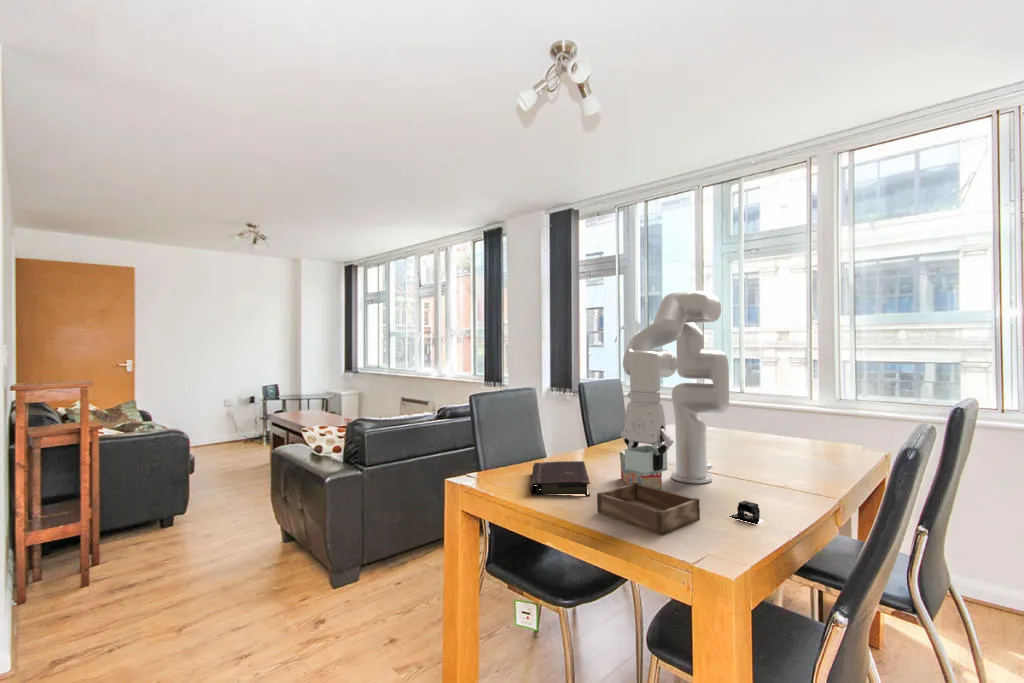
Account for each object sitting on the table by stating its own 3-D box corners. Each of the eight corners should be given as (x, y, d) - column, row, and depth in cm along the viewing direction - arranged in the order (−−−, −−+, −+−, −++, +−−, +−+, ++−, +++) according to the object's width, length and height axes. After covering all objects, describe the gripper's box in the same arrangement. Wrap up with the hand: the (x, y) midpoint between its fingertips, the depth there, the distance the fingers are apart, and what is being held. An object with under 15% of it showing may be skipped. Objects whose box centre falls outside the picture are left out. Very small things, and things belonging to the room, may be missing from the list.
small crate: (646, 465, 129) (646, 445, 130) (667, 469, 124) (666, 448, 124) (625, 470, 124) (624, 449, 124) (645, 475, 119) (645, 453, 119)
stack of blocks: (620, 478, 160) (619, 441, 160) (638, 478, 161) (637, 441, 161) (641, 498, 139) (640, 456, 139) (662, 497, 139) (661, 455, 139)
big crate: (635, 500, 137) (635, 482, 137) (699, 519, 121) (699, 498, 121) (597, 512, 127) (597, 493, 127) (662, 535, 111) (661, 512, 111)
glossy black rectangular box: (717, 517, 124) (717, 500, 124) (733, 511, 128) (732, 494, 128) (766, 532, 114) (766, 513, 114) (781, 525, 118) (780, 506, 118)
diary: (530, 498, 143) (529, 481, 143) (533, 476, 167) (532, 461, 168) (593, 498, 141) (592, 481, 141) (586, 475, 166) (586, 461, 166)
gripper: (609, 396, 129) (610, 463, 129) (665, 401, 115) (666, 476, 115) (627, 395, 134) (628, 459, 133) (683, 399, 120) (684, 471, 120)
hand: (646, 466), depth 124 cm, fingers closed on small crate, 6 cm apart
